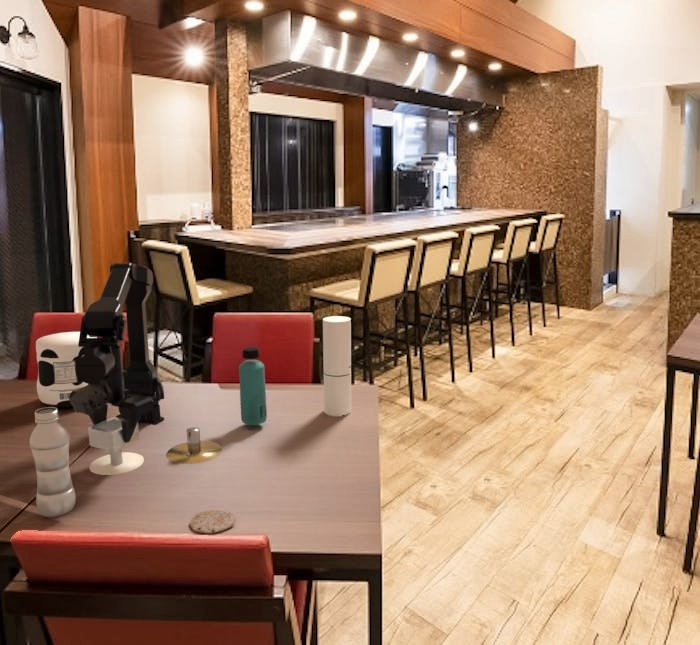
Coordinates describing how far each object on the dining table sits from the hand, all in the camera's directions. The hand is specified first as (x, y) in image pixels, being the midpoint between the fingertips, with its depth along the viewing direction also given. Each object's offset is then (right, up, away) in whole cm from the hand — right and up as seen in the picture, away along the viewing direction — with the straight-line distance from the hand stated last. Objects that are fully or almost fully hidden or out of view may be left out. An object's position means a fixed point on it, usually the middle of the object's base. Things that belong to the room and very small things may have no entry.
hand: (114, 439), depth 134 cm
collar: (0, -1, 0) cm, 1 cm away
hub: (+15, -5, +7) cm, 18 cm away
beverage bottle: (+26, -1, +24) cm, 35 cm away
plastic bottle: (-4, -11, -17) cm, 21 cm away
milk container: (-27, +3, +42) cm, 50 cm away
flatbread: (+25, -12, -21) cm, 35 cm away
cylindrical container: (+47, +1, +33) cm, 57 cm away
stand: (0, -6, +1) cm, 6 cm away
